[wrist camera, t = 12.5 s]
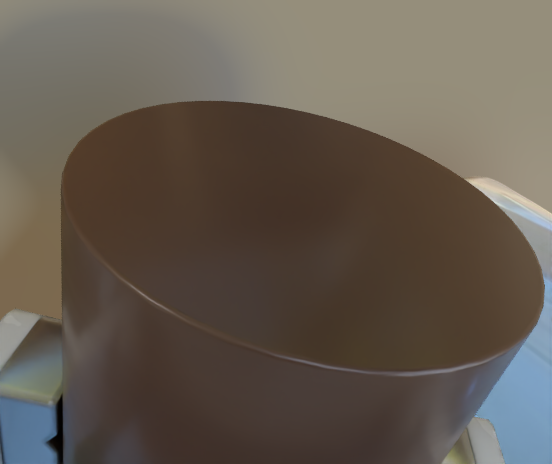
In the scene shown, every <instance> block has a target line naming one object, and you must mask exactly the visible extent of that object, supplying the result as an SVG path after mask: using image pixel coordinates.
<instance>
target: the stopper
mask: <svg viewBox="0 0 552 464" xmlns="http://www.w3.org/2000/svg"><path fill="white" fill-rule="evenodd" d="M61 248H62V249H61V251H62V252H61V256H62V258H61V259H62V382H63V464H442V462H443V461H444V459H445V458H446V456H447V455H448V453H449V452H450V450H451V449H452V447H453V446H454V445H455V443H456V442H457V440H458V439H459V437H460V436H461V434H462V433H463V431H464V430H465V428H466V427H467V425H468V424H469V423H470V421H471V420H472V418H473V417H474V415H475V414H476V412H477V411H478V409H479V408H480V406H481V405H482V404H483V402H484V401H485V399H486V398H487V396H488V395H489V393H490V392H491V390H492V389H493V387H494V386H495V384H496V383H497V382H498V380H499V379H500V377H501V376H502V374H503V373H504V371H505V370H506V368H507V367H508V365H509V364H510V363H511V361H512V360H513V358H514V357H515V355H516V354H517V352H518V351H519V349H520V348H521V346H522V345H523V343H524V342H525V341H526V339H527V338H528V336H529V335H530V333H531V332H532V330H533V329H534V327H535V326H536V324H537V322H538V320H539V317H540V314H541V312H542V309H543V304H544V289H545V285H544V280H543V274H542V269H541V267H540V264H539V262H538V259H537V257H536V254H535V252H534V250H533V249H532V247H531V245H530V244H529V242H528V241H527V239H526V237H525V236H524V235H523V233H522V232H521V231H520V230H519V228H518V227H517V226H516V225H515V223H514V222H513V221H512V220H511V219H510V218H509V217H508V216H507V215H506V214H505V213H504V212H503V211H502V210H501V209H500V208H499V207H498V206H497V205H496V204H495V203H494V202H493V201H491V200H490V199H489V198H488V197H487V196H486V195H484V194H483V193H482V192H481V191H479V190H478V189H477V188H475V187H474V186H473V185H471V184H470V183H469V182H467V181H466V180H464V179H463V178H461V177H460V176H458V175H457V174H455V173H454V172H452V171H451V170H449V169H447V168H446V167H444V166H442V165H440V164H439V163H437V162H435V161H434V160H432V159H430V158H428V157H426V156H424V155H422V154H420V153H418V152H416V151H414V150H412V149H410V148H408V147H406V146H404V145H402V144H400V143H397V142H395V141H392V140H391V139H388V138H386V137H383V136H380V135H378V134H376V133H373V132H370V131H368V130H365V129H362V128H359V127H356V126H353V125H350V124H347V123H344V122H341V121H337V120H334V119H330V118H327V117H323V116H319V115H315V114H311V113H307V112H302V111H297V110H292V109H288V108H281V107H276V106H269V105H262V104H253V103H244V102H228V101H194V102H193V101H192V102H177V103H169V104H162V105H156V106H151V107H146V108H142V109H138V110H134V111H131V112H128V113H125V114H122V115H120V116H117V117H115V118H113V119H110V120H108V121H106V122H104V123H103V124H101V125H99V126H98V127H96V128H95V129H93V130H92V131H90V132H89V133H88V134H87V135H86V136H85V137H84V138H82V139H81V140H80V141H79V142H78V144H77V145H76V147H75V148H74V149H73V151H72V152H71V154H70V155H69V157H68V159H67V162H66V165H65V168H64V171H63V173H62V184H61Z"/></svg>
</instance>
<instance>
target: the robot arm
mask: <svg viewBox="0 0 552 464" xmlns="http://www.w3.org/2000/svg"><path fill="white" fill-rule="evenodd" d="M0 464H63V382H62V320H60V319H56V318H52V317H48V316H43V315H39V314H35V313H31V312H27V311H24V310H20V309H14V310H12V311H10V312H9V313H7V314H6V315H5V316H4V317H3V318H2V320H0ZM442 464H505V461H504V458H503V455H502V452H501V449H500V445H499V442H498V439H497V436H496V433H495V430H494V427H493V425H492V424H491V422H490V421H489V420H487V419H482V418H478V417H473V418H472V420H471V421H470V423H469V424H468V425H467V427H466V428H465V430H464V431H463V433H462V434H461V436H460V437H459V439H458V440H457V442H456V443H455V445H454V446H453V447H452V449H451V450H450V452H449V453H448V455H447V456H446V458H445V459H444V461H443V462H442Z"/></svg>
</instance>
